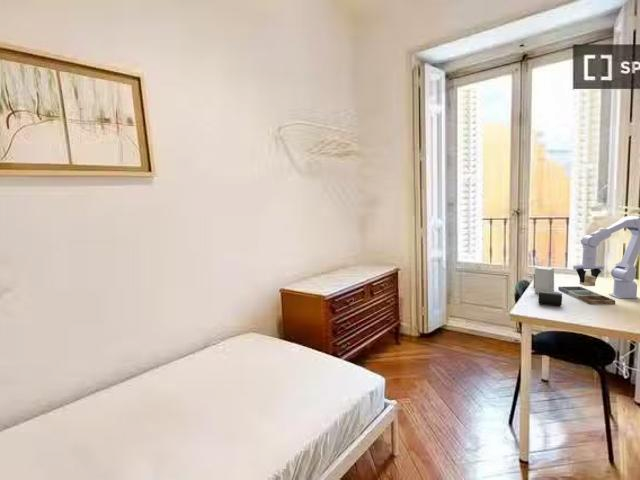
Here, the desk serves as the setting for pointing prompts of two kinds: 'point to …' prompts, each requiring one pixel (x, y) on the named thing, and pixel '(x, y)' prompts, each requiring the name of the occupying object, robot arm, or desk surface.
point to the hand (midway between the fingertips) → (587, 282)
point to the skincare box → (544, 279)
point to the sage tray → (582, 293)
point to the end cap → (550, 298)
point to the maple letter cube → (589, 280)
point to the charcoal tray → (571, 289)
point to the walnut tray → (597, 300)
